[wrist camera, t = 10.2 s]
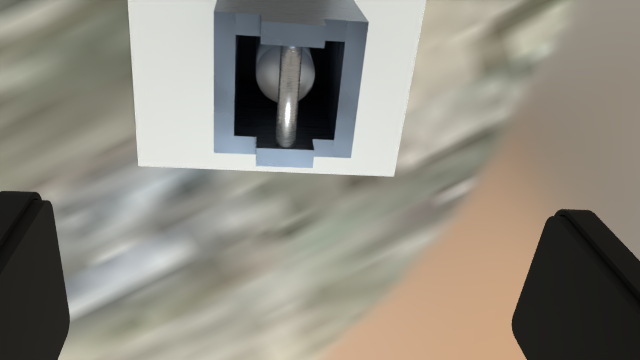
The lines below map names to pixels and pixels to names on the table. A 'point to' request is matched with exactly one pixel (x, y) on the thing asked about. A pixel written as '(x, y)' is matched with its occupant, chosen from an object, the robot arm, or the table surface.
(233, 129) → the coupler
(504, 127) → the table surface
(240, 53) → the shaft mount
